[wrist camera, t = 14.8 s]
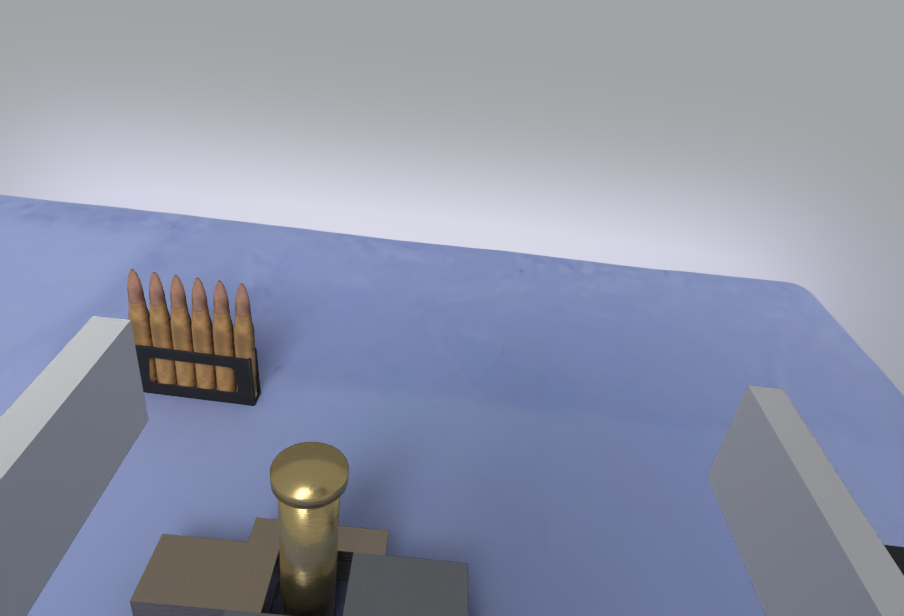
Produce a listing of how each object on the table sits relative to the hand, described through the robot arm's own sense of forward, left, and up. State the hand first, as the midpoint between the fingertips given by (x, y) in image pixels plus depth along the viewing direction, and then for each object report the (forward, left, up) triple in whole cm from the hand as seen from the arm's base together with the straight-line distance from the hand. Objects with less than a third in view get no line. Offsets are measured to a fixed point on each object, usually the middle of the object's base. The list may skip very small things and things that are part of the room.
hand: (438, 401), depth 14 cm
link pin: (+6, -14, -31) cm, 34 cm away
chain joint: (+5, -14, -31) cm, 34 cm away
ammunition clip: (+19, -34, -31) cm, 50 cm away
